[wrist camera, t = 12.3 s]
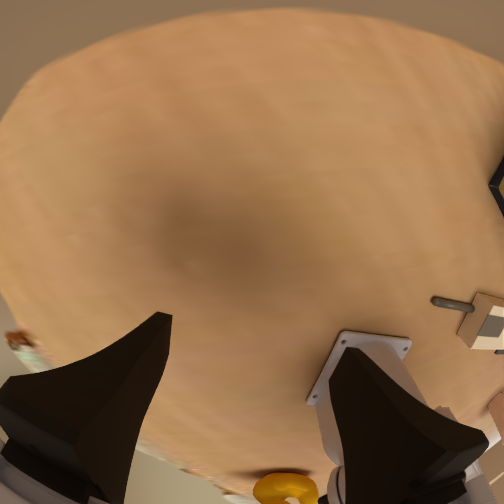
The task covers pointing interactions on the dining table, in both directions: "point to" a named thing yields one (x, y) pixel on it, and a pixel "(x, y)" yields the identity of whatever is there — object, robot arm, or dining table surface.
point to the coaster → (499, 352)
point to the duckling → (285, 489)
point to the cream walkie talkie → (479, 321)
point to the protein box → (498, 186)
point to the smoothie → (498, 413)
